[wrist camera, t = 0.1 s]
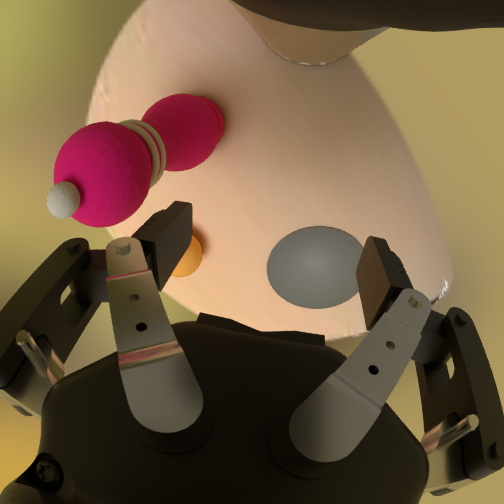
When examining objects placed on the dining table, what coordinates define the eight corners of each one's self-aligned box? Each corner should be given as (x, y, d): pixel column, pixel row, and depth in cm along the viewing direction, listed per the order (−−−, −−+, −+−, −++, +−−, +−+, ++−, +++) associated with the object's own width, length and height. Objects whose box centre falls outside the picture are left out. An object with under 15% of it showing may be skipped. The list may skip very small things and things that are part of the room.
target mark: (275, 217, 31) (274, 218, 31) (382, 238, 30) (382, 239, 30) (261, 299, 38) (261, 300, 38) (349, 313, 37) (349, 314, 37)
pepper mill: (235, 97, 24) (107, 135, 8) (223, 162, 28) (119, 290, 12) (169, 88, 24) (4, 132, 8) (162, 150, 28) (26, 251, 12)
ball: (166, 220, 33) (146, 244, 29) (208, 226, 33) (192, 252, 29) (169, 255, 37) (152, 281, 32) (207, 262, 36) (194, 290, 32)
